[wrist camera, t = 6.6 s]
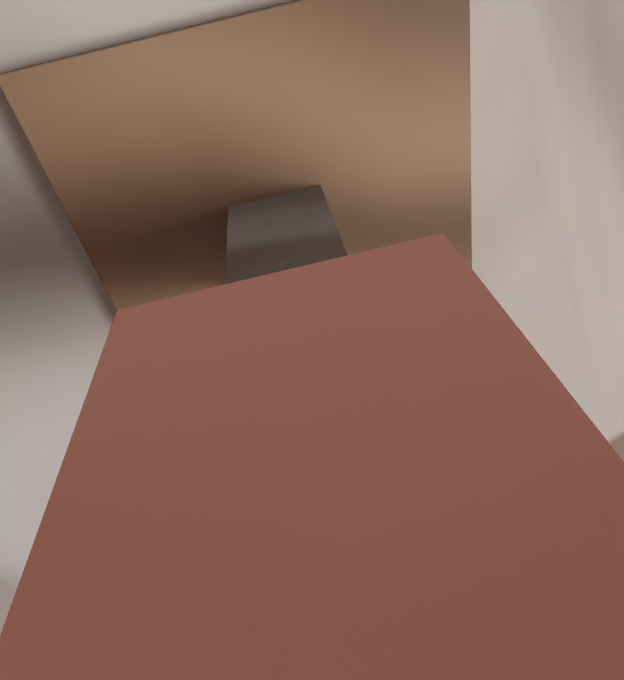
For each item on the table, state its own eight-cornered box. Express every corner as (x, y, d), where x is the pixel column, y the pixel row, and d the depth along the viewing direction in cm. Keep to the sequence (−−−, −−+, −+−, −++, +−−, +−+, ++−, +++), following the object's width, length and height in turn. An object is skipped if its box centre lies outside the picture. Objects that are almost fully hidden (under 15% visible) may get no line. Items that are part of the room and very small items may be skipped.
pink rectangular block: (453, 451, 11) (658, 907, 6) (218, 505, 11) (200, 1000, 6) (443, 232, 8) (876, 783, 3) (117, 309, 8) (-129, 992, 3)
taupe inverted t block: (467, 334, 18) (569, 496, 13) (171, 402, 19) (142, 591, 13) (461, -41, 12) (667, -51, 6) (3, 72, 12) (-204, 164, 6)
